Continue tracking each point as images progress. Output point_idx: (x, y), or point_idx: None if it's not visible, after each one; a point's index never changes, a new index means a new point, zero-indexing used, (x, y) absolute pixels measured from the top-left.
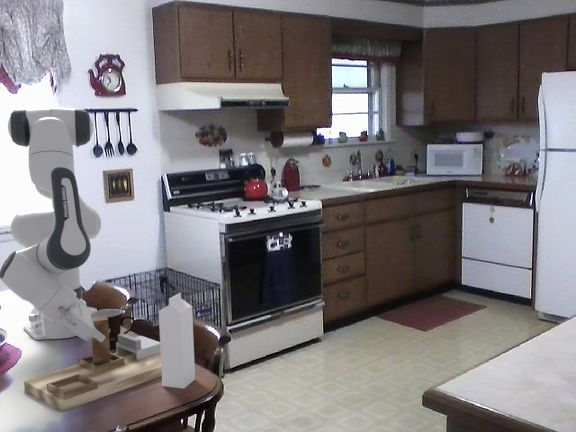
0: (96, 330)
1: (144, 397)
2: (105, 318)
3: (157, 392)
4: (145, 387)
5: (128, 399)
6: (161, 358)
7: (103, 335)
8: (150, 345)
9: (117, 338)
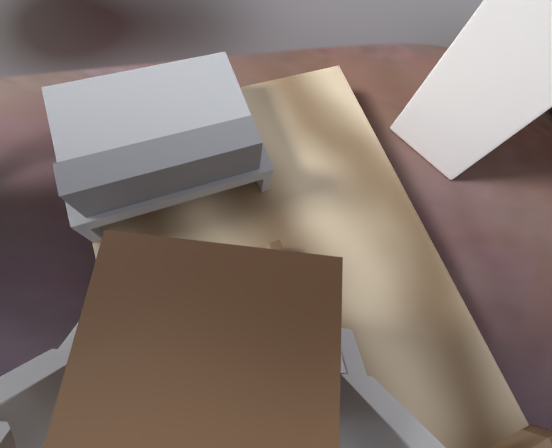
0: (438, 445)
1: (522, 254)
2: (267, 277)
3: (493, 207)
4: (440, 229)
5: (525, 306)
6: (532, 119)
7: (355, 347)
8: (228, 98)
9: None
